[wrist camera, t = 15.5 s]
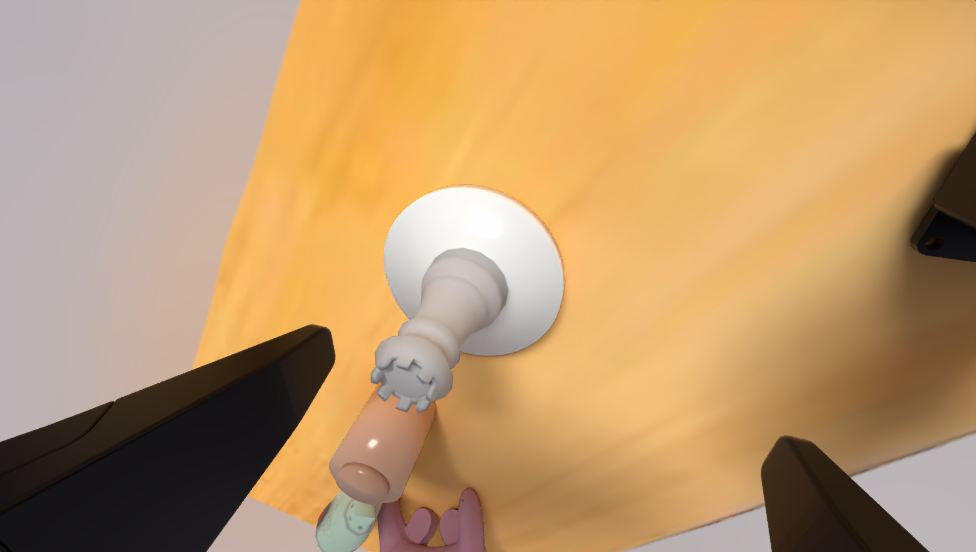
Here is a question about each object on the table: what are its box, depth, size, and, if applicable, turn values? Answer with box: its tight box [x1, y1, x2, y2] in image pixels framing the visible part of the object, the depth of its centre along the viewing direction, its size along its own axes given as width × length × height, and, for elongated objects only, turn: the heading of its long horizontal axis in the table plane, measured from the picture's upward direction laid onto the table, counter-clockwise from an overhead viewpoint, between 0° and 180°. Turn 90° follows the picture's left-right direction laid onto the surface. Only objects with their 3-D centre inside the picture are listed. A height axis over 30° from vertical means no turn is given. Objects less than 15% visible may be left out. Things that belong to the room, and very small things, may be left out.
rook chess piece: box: [371, 248, 508, 413], centre depth 18 cm, size 4×4×8 cm
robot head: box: [315, 490, 382, 552], centre depth 32 cm, size 8×4×7 cm, turn 149°
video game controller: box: [377, 488, 487, 552], centre depth 33 cm, size 10×5×7 cm, turn 113°
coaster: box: [384, 184, 565, 356], centre depth 22 cm, size 10×10×1 cm
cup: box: [329, 382, 436, 505], centre depth 26 cm, size 5×5×7 cm
